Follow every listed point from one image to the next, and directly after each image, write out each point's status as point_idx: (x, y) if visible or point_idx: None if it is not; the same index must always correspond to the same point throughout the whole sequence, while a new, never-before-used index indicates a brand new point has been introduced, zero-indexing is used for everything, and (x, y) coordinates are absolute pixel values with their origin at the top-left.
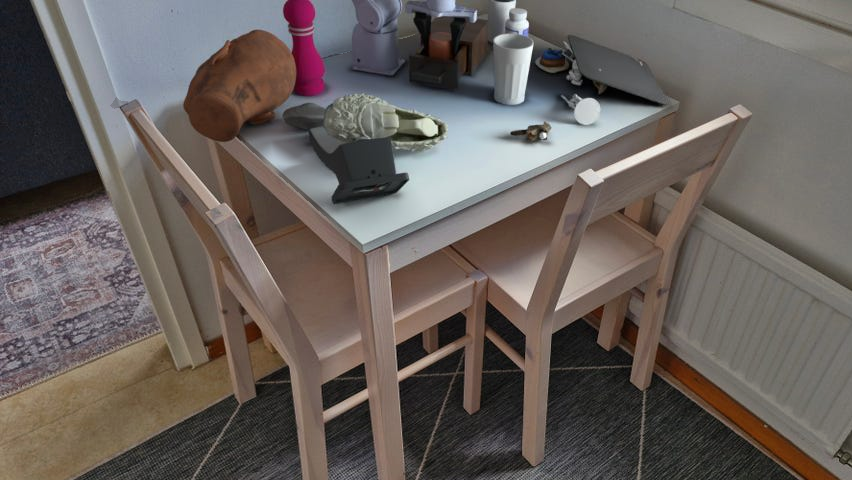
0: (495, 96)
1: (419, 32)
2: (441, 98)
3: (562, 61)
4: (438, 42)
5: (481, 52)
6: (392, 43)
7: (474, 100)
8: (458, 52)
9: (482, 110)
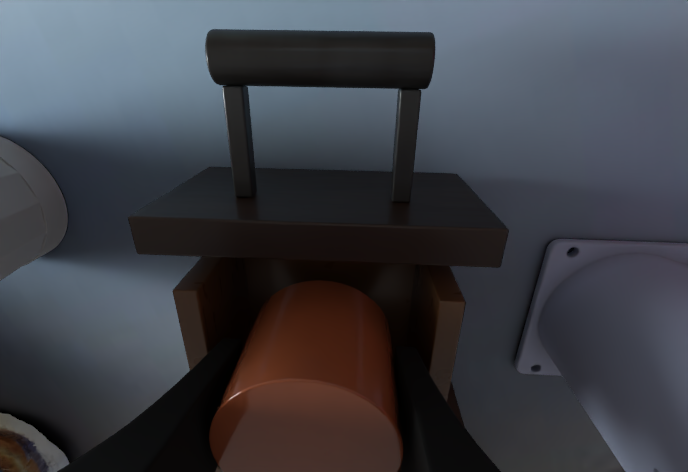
0: (23, 164)
1: (482, 451)
2: (264, 91)
3: None
4: (291, 372)
5: None
6: (641, 383)
7: (115, 124)
8: None
9: (25, 26)
